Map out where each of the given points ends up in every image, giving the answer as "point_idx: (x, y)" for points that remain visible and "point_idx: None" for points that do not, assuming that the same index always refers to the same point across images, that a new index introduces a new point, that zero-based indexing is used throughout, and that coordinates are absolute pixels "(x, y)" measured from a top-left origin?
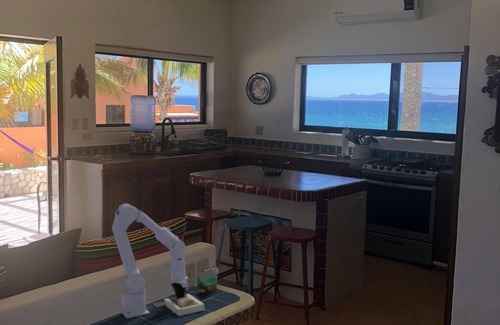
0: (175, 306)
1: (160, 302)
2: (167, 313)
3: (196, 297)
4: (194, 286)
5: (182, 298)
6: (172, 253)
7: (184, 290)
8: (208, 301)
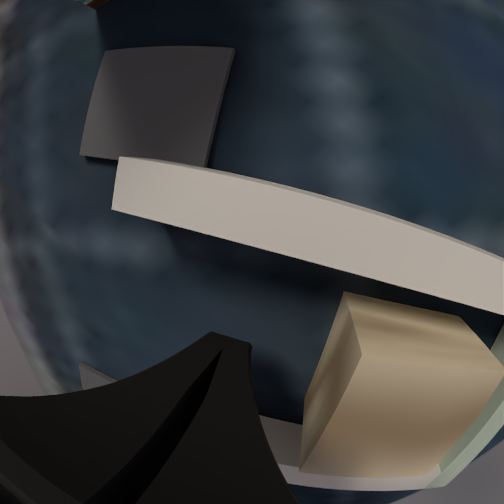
0: (377, 485)
1: (89, 382)
2: None
3: (184, 69)
4: (9, 20)
5: (345, 443)
6: None
7: (266, 452)
8: (404, 54)
